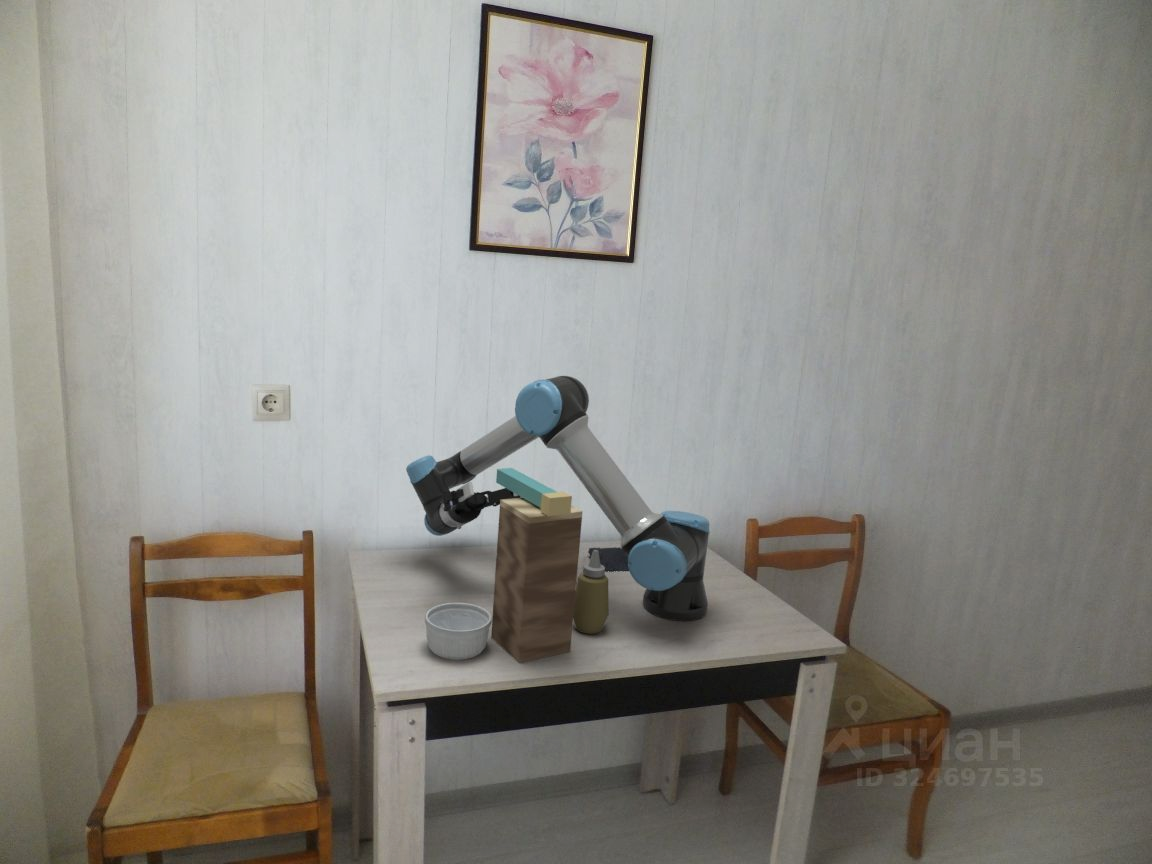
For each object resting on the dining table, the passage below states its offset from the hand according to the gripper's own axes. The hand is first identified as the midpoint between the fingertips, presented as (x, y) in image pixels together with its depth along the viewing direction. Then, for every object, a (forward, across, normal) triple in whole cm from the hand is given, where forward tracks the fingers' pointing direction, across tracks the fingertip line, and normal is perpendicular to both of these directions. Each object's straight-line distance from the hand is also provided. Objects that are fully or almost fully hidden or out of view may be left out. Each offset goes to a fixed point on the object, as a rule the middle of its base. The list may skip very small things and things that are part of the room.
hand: (500, 485), depth 180 cm
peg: (+11, 0, -5) cm, 12 cm away
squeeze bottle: (-2, -16, -33) cm, 37 cm away
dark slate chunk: (-29, -50, -18) cm, 61 cm away
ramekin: (-5, +14, -32) cm, 35 cm away
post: (-1, 0, -34) cm, 34 cm away
